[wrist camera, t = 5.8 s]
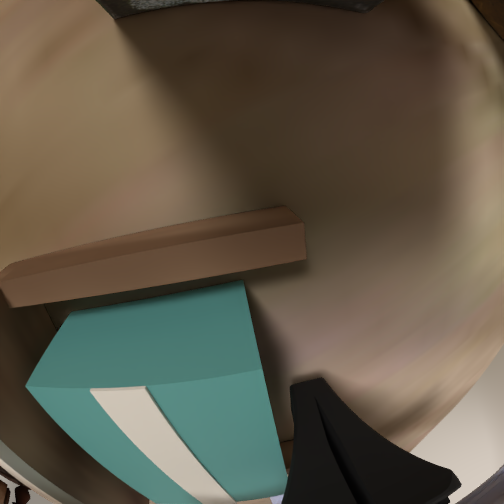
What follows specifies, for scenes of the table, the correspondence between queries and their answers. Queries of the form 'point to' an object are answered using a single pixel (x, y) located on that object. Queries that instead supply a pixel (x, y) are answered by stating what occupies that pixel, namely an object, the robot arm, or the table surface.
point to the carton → (168, 396)
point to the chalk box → (126, 3)
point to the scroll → (22, 495)
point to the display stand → (99, 283)
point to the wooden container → (492, 13)
